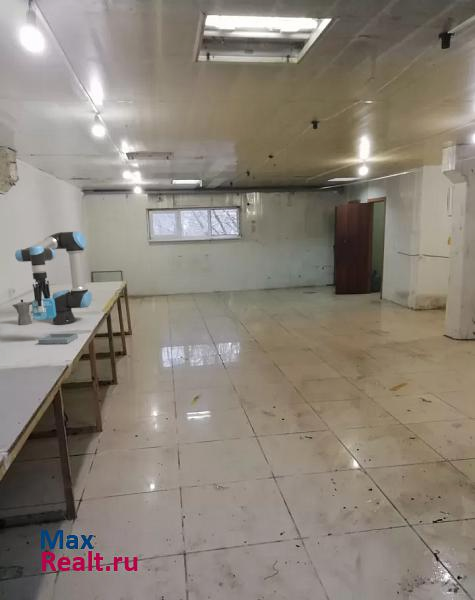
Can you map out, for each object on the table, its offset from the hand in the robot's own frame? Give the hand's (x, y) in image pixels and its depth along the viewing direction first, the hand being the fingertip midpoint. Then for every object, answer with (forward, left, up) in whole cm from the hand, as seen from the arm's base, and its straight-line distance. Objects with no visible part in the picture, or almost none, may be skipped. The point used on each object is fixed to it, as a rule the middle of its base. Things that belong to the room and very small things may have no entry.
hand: (44, 310), depth 256 cm
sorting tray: (+2, +8, -19) cm, 21 cm away
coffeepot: (-48, -43, -19) cm, 67 cm away
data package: (0, 0, -6) cm, 6 cm away
